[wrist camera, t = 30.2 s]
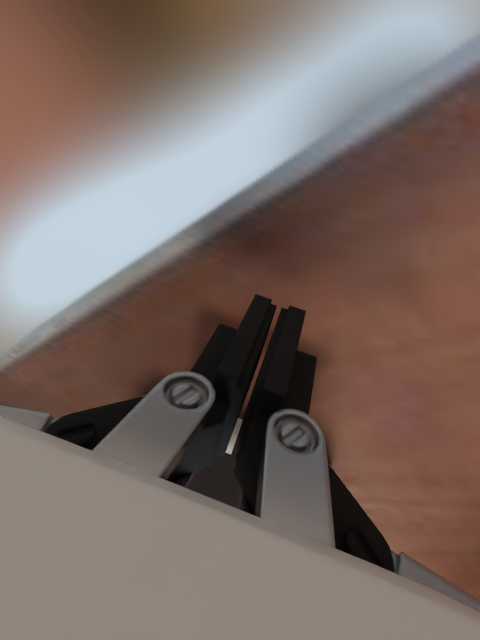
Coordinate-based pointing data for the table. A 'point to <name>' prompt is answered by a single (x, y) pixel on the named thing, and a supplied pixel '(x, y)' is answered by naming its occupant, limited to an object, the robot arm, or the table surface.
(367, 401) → the table surface
